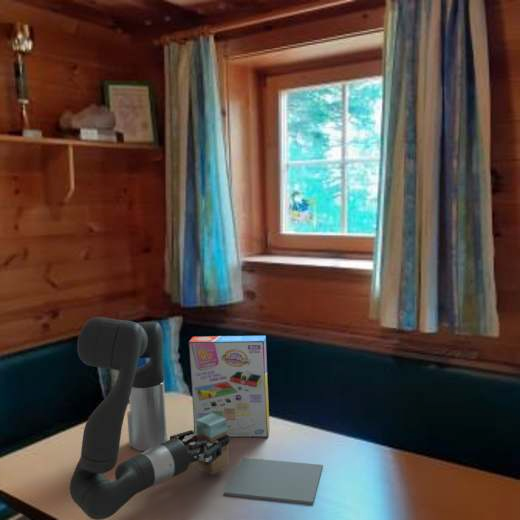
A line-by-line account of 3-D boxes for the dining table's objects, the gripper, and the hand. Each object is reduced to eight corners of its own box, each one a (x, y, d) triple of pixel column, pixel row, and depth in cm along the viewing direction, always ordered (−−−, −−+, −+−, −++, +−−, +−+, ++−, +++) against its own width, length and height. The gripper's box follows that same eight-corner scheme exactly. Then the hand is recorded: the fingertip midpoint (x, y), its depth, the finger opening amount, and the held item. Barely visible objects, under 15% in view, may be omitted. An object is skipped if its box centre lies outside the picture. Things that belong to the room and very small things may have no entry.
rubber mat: (223, 494, 124) (223, 492, 123) (242, 459, 139) (242, 457, 139) (313, 504, 119) (313, 501, 119) (322, 467, 134) (322, 464, 134)
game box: (270, 429, 156) (267, 335, 152) (268, 438, 150) (265, 340, 147) (197, 428, 158) (192, 335, 154) (193, 437, 152) (188, 340, 149)
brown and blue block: (198, 467, 132) (196, 419, 131) (214, 459, 136) (212, 413, 134) (212, 474, 129) (210, 425, 127) (228, 466, 132) (226, 418, 131)
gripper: (182, 456, 116) (240, 429, 128) (142, 436, 126) (200, 412, 138) (184, 490, 117) (241, 459, 129) (144, 467, 127) (201, 440, 139)
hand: (220, 435), depth 133 cm, fingers closed on brown and blue block, 5 cm apart
